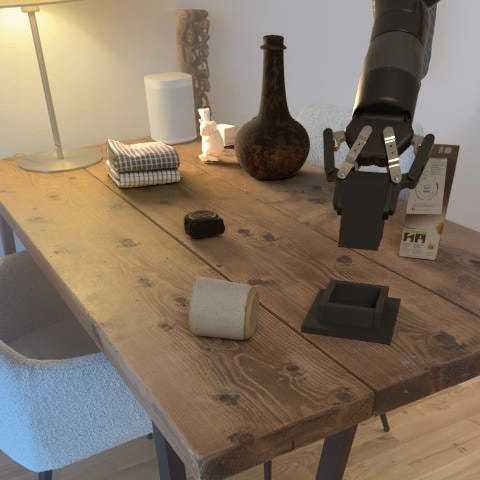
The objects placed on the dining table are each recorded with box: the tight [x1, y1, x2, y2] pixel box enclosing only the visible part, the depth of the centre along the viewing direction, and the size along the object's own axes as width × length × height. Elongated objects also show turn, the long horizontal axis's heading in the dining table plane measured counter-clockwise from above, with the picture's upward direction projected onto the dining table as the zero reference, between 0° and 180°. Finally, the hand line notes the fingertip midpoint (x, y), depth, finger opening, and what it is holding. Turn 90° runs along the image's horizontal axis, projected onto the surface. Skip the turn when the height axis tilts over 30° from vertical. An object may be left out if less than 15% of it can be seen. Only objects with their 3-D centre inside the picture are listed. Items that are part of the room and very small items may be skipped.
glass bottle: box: [233, 34, 311, 181], centre depth 128 cm, size 18×18×28 cm
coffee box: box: [398, 143, 461, 261], centre depth 94 cm, size 9×6×16 cm
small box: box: [217, 123, 238, 146], centre depth 160 cm, size 6×6×5 cm
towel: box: [105, 138, 182, 189], centre depth 134 cm, size 15×18×8 cm
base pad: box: [300, 278, 402, 346], centre depth 79 cm, size 12×12×4 cm
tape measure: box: [183, 209, 226, 239], centre depth 105 cm, size 7×7×4 cm
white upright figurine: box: [197, 107, 225, 162], centre depth 144 cm, size 8×7×12 cm
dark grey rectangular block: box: [337, 170, 391, 252], centre depth 71 cm, size 5×5×8 cm
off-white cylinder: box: [188, 276, 260, 341], centre depth 76 cm, size 11×8×8 cm
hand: (362, 214), depth 69 cm, fingers closed on dark grey rectangular block, 5 cm apart
